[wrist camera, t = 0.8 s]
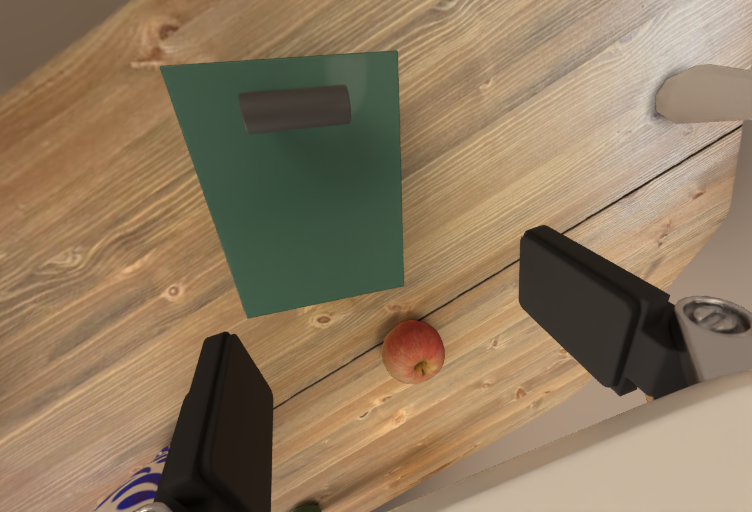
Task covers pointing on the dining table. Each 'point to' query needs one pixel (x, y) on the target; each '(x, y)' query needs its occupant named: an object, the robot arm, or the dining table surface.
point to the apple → (413, 352)
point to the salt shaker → (706, 95)
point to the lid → (298, 172)
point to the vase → (136, 488)
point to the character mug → (307, 509)
